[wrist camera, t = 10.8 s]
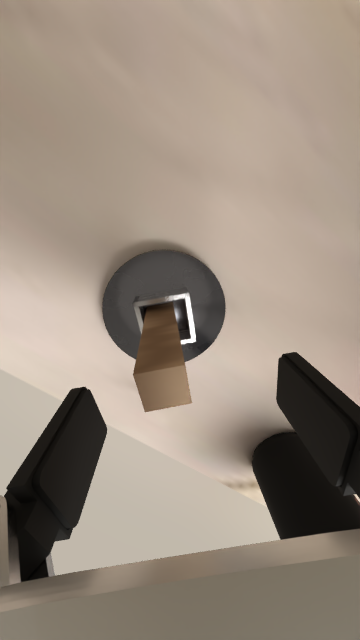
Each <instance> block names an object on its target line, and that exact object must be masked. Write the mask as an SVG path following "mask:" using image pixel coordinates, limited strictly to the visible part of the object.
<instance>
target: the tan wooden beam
mask: <svg viewBox="0 0 360 640" xmlns="http://www.w3.org/2000/svg"><path fill="white" fill-rule="evenodd" d="M133 376H134V379H135V382H136V385H137V388H138V391H139V395H140V398H141V401H142V404H143V407H144V410H145V412H149V411H154V410H159V409H164V408H169V407H175V406H180V405H185V404H190V403H192V401H191V395H190V390H189V384H188V378H187V373H186V367H185V362H184V357H183V352H182V346H181V341H180V336H179V331H178V326H177V321H176V315H175V310H174V305H173V302H168V303H162V304H157V305H151V306H147V309H146V314H145V319H144V324H143V329H142V334H141V339H140V344H139V348H138V353H137V358H136V363H135V368H134V373H133Z"/></svg>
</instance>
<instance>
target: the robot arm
mask: <svg viewBox="0 0 360 640" xmlns="http://www.w3.org/2000/svg"><path fill="white" fill-rule="evenodd" d="M276 399H277V404H278V406H279V407H280V409H281V410H282V412H283V413H284V415H285V416H286V418H287V419H288V421H289V422H290V424H291V425H292V427H293V428H294V430H295V431H296V433H297V434H298V436H299V437H300V439H301V440H302V442H303V443H304V445H305V446H306V448H307V449H308V451H309V452H310V454H311V455H312V457H313V458H314V460H315V461H316V463H317V464H318V466H319V467H320V469H321V470H322V472H323V473H324V475H325V476H326V478H327V479H328V481H329V482H330V483H331V484H332V485H333V486H337V488H338V489H339V491H340V492H341V494H342V495H343V496H346V495H352V494H357V495H358V497H359V498H360V407H359V406H358V405H357V404H356V403H354V402H353V401H352V400H351V399H350V398H349V397H348V396H346V395H345V394H344V393H343V392H342V391H341V390H339V389H338V388H337V387H336V386H335V385H334V384H333V383H331V382H330V381H329V380H328V379H327V378H326V377H325V376H323V375H322V374H321V373H320V372H319V371H318V370H316V369H315V368H314V367H313V366H312V365H311V364H310V363H308V362H307V361H306V360H305V359H304V358H303V357H301V356H300V355H299V354H298V353H296V352H292V353H286V354H283V355H282V357H281V358H279V362H278V380H277V397H276ZM106 434H107V427H106V424H105V422H104V420H103V418H102V415H101V413H100V411H99V409H98V406H97V404H96V402H95V400H94V397H93V395H92V393H91V391H90V390H89V389H87V388H86V387H80V388H74V389H71V391H70V392H69V393H68V395H67V396H66V398H65V399H64V401H63V402H62V404H61V406H60V407H59V409H58V410H57V412H56V413H55V415H54V416H53V418H52V419H51V421H50V422H49V424H48V425H47V427H46V428H45V430H44V431H43V433H42V434H41V436H40V437H39V439H38V440H37V442H36V444H35V445H34V447H33V448H32V450H31V451H30V453H29V454H28V456H27V457H26V459H25V460H24V462H23V464H22V465H21V466H20V468H19V469H18V471H17V472H16V474H15V475H14V477H13V479H12V480H11V482H10V484H9V485H8V486H7V490H8V491H7V492H6V494H5V495H4V497H3V496H0V640H360V529H354V530H346V531H338V532H330V533H323V534H317V535H310V536H303V537H297V538H290V539H283V540H277V541H271V542H263V543H256V544H250V545H243V546H237V547H231V548H224V549H218V550H212V551H205V552H198V553H192V554H185V555H179V556H173V557H167V558H160V559H154V560H148V561H141V562H136V563H129V564H124V565H116V566H111V567H104V568H98V569H92V570H86V571H79V572H73V573H68V574H62V575H57V576H55V574H54V569H53V563H52V558H51V549H52V547H53V544H54V542H55V541H60V540H66V539H69V538H70V535H71V533H72V530H73V528H74V527H75V526H76V525H77V524H78V521H79V519H80V516H81V512H82V509H83V506H84V503H85V500H86V497H87V493H88V491H89V487H90V484H91V481H92V478H93V475H94V472H95V469H96V466H97V462H98V459H99V456H100V453H101V450H102V447H103V444H104V440H105V438H106Z"/></svg>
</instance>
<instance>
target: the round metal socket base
mask: <svg viewBox="0 0 360 640" xmlns="http://www.w3.org/2000/svg"><path fill="white" fill-rule="evenodd" d="M168 302H173V305H174V310H175V315H176V321H177V326H178V331H179V336H180V341H181V346H182V352H183V357H184V362H186V361H189V360H191V359H193V358H195V357H197V356H198V355H200V354H201V353H203V352H204V351H205V350H206V349H207V348H208V347H209V346H210V345H211V344H212V343H213V342H214V340H215V339H216V338H217V336H218V334H219V332H220V330H221V328H222V325H223V322H224V317H225V298H224V294H223V290H222V288H221V285H220V283H219V281H218V280H217V278H216V276H215V275H214V274H213V273H212V271H211V270H210V269H209V268H208V267H207V266H205V265H204V264H203V263H202V262H200V261H199V260H197V259H196V258H194V257H192V256H190V255H188V254H185V253H182V252H179V251H173V250H154V251H150V252H146V253H143V254H140V255H138V256H136V257H134V258H133V259H131V260H129V261H128V262H126V263H125V264H124V265H123V266H121V267H120V268H119V269H118V270H117V272H116V273H115V274H114V275H113V277H112V278H111V280H110V281H109V283H108V285H107V287H106V290H105V293H104V298H103V307H102V312H103V319H104V323H105V326H106V329H107V331H108V333H109V335H110V336H111V338H112V340H113V341H114V342H115V343H116V345H117V346H118V347H119V348H120V349H121V350H122V351H124V352H125V353H126V354H128V355H129V356H131V357H133V358H134V359H136V358H137V353H138V348H139V344H140V339H141V334H142V329H143V324H144V319H145V314H146V309H147V306H151V305H157V304H162V303H168Z"/></svg>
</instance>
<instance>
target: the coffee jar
mask: <svg viewBox="0 0 360 640" xmlns="http://www.w3.org/2000/svg"><path fill="white" fill-rule="evenodd" d="M252 467H253V472H254V474H255V477H256V479H257V482H258V484H259V487H260V489H261V492H262V494H263V497H264V499H265V502H266V504H267V507H268V509H269V512H270V514H271V517H272V519H273V522H274V524H275V527H276V529H277V532H278V534H279V536H280V539H281V540H283V539H290V538H297V537H303V536H310V535H317V534H323V533H330V532H338V531H346V530H354V529H360V503H359V501H358V500H357V499H356V497H355V496H354V495H353V494H352V495H346V496H343V495H342V494H341V492H340V491H339V489H338V488H337V486H333V485H332V484H331V483H330V482H329V481H328V479H327V478H326V476H325V475H324V473H323V472H322V470H321V469H320V467H319V466H318V464H317V463H316V461H315V460H314V458H313V457H312V455H311V454H310V452H309V451H308V449H307V448H306V446H305V445H304V443H303V442H302V440H301V439H300V437H299V436H298V434H297V433H293V432H289V433H281V434H277V435H274V436H272V437H270V438H268V439H266V440H265V441H263V442H262V443H261V444H259V446H258V447H257V448H256V450H255V451H254V454H253V461H252Z"/></svg>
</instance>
